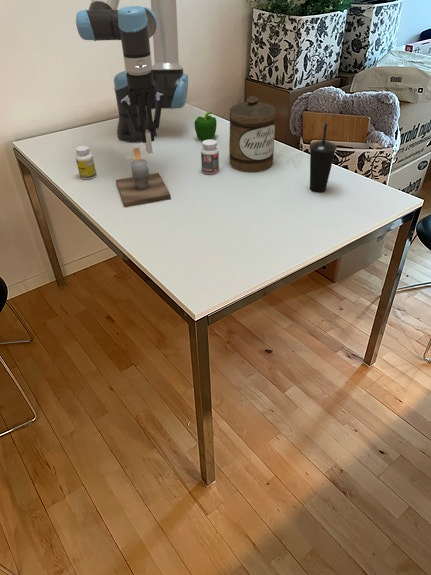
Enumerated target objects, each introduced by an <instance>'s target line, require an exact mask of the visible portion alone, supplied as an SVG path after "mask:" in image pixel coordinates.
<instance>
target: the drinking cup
mask: <svg viewBox="0 0 431 575" xmlns="http://www.w3.org/2000/svg"><path fill="white" fill-rule="evenodd" d="M327 129H328V123H324V127H323V136H322V139H321V140H316V141H313V142H311V143H310V145H309V149H310V153H309V154H310V155H309V156H310V157H309V158H310V160H309V163H310V165H309V189H310V191H311V192H313V193H318V194H319V193H324V192H326V190H327V185H328V183H329V178H330V174H331V169H332V165H333V160H334V158H335V152H336V150H337V149H338V148H337V147H338V146H337V144H335V143H334V142H331V141H330V140H326V136H327Z"/></svg>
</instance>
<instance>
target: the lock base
mask: <svg viewBox="0 0 431 575" xmlns="http://www.w3.org/2000/svg"><path fill="white" fill-rule="evenodd" d="M115 183H116V186H117V189H118V192H119V195H120V197H121V202H122V203H123V204H122V205H123V206H124V208H128V207H133V206H139V205H140V206H141V205H145V204H150V203H151V204H152V203H156V202H162V201H167V200H171V198H172V197H171V196H172V195H171V193H170V191H169V189H168V187H167V185H166V184H165V181H164V180H163V178H162V176H161V174H160V172H154V173H149V175H148V176H147V177H145V178H141V179H138V178H134V177H133V176H131V177H124V178H117V179H115Z"/></svg>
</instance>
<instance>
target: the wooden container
mask: <svg viewBox="0 0 431 575" xmlns="http://www.w3.org/2000/svg"><path fill="white" fill-rule="evenodd" d="M275 125H276V108H275V106H274V105H271V104H270V103H266V102H260V101H259V97H257V96H256V95H250V96H249V97H247V99H246V101H245V102H240V103H237V104H234V105H232V106H231V107H230V109H229V139H228V140H229V141H228V142H229V146H228V147H229V149H228V150H229V151H228V152H229V154H228V155H229V156H228V157H229V159H228V160H229V165H230V166H231V168H232V169H235V170H237V171H239V172H240V171H241V172H244V173H245V172H246V173H257V172H262V171H266V170H268V169H270V168H271V167H272V166H273V164H274V152H275V133H276V132H275V130H276V126H275Z"/></svg>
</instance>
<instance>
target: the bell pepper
mask: <svg viewBox="0 0 431 575" xmlns="http://www.w3.org/2000/svg"><path fill="white" fill-rule="evenodd" d="M212 113H213V112H212V111H210V110H209V111H207V112H206V113H205V115H204V117H203V116H197V117H196V119H195V120H194V131H195V133H196V137H197V139H198V140H199V141H202V142H203V141H205V140H209V139H211V140H214V138H215V135H216V132H217V126H218V125H217V119H216V117H213V116H211V115H212Z"/></svg>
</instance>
